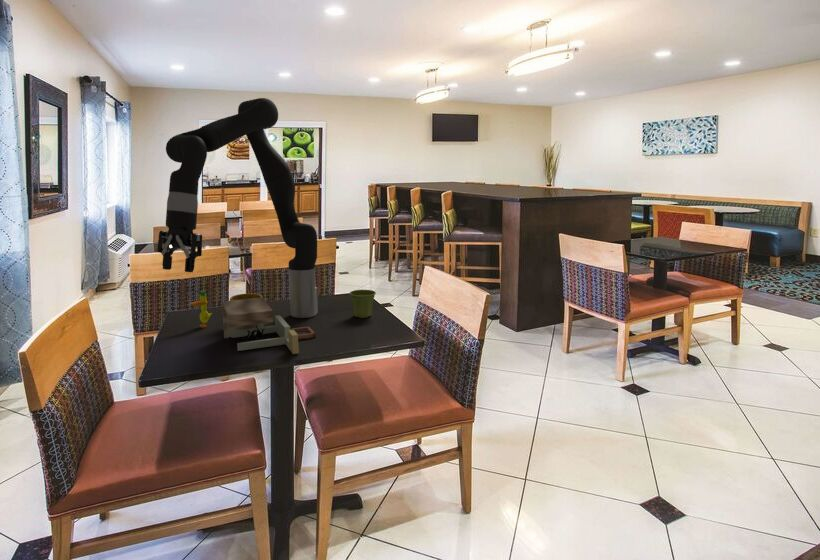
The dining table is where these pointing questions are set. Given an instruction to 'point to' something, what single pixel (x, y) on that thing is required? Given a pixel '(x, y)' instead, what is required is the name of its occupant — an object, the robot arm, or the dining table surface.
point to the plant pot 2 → (362, 302)
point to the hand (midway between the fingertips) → (177, 270)
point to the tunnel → (245, 314)
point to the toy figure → (202, 308)
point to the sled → (282, 330)
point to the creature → (254, 335)
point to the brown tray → (304, 333)
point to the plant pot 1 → (245, 296)
